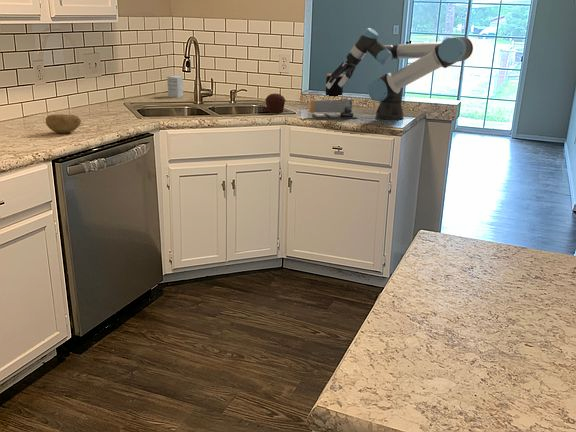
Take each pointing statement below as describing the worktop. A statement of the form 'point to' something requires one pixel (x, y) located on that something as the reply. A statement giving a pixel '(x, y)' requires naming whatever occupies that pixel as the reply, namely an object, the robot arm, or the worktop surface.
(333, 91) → the coffee jar
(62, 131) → the brown bowl
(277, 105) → the muffin
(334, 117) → the label tile
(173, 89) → the supplement box
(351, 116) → the pivot plinth
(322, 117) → the label tile
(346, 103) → the swing arm
